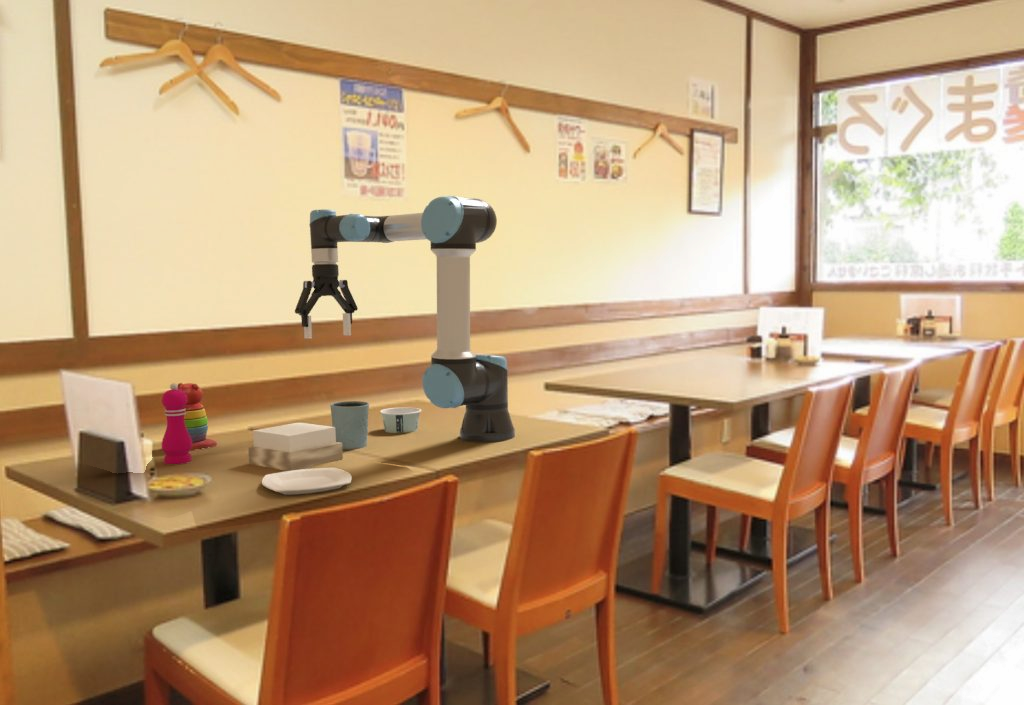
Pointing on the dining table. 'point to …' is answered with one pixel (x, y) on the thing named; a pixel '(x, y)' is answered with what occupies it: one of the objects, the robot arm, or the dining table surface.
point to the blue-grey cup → (350, 423)
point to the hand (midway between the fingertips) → (328, 336)
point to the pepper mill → (176, 427)
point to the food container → (400, 419)
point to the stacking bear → (196, 417)
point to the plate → (306, 480)
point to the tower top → (294, 437)
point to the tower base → (295, 457)
